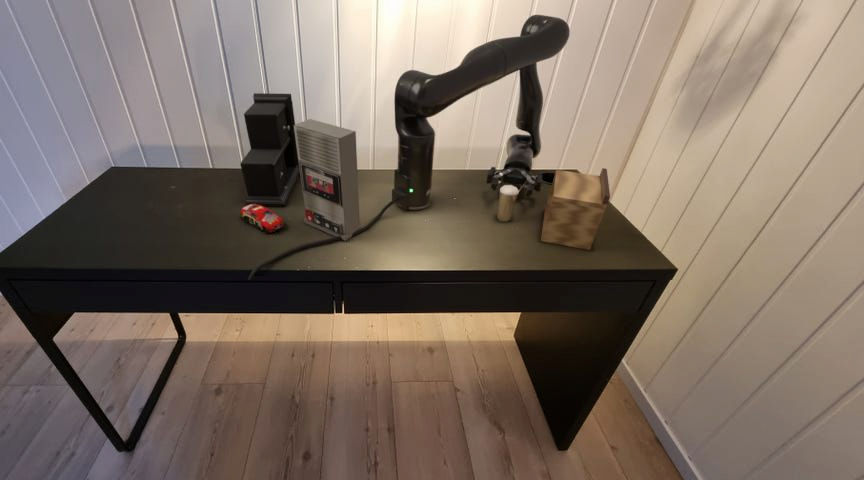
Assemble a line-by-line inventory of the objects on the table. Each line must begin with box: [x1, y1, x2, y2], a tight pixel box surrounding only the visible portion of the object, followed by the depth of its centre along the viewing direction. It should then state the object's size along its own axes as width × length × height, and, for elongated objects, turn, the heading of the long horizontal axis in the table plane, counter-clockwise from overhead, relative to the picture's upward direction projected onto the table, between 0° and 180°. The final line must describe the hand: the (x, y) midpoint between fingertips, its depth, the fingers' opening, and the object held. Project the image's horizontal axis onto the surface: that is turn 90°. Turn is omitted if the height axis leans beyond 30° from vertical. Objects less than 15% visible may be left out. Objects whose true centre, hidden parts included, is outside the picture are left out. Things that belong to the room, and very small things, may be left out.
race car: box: [240, 204, 285, 234], centre depth 103 cm, size 13×5×4 cm, turn 49°
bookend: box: [239, 92, 300, 207], centre depth 113 cm, size 23×11×24 cm, turn 178°
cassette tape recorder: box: [294, 118, 362, 242], centre depth 95 cm, size 14×6×25 cm, turn 53°
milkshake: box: [496, 184, 524, 223], centre depth 103 cm, size 4×5×10 cm
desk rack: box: [540, 167, 611, 251], centre depth 98 cm, size 11×15×14 cm
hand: (511, 190), depth 106 cm, fingers open, 8 cm apart
